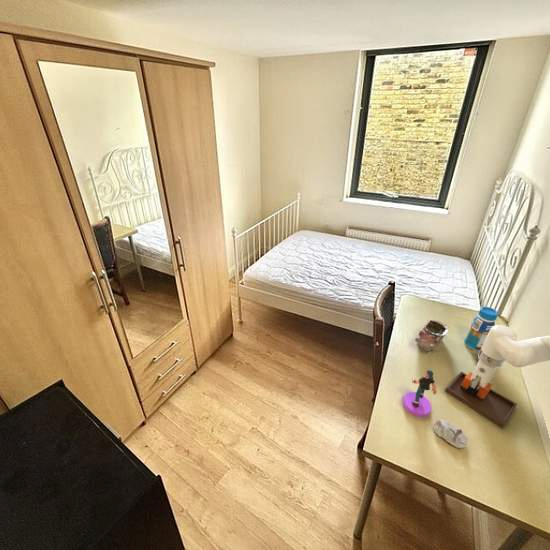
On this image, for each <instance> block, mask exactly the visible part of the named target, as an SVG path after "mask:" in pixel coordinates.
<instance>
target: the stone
mask: <svg viewBox="0 0 550 550" xmlns="http://www.w3.org/2000/svg"><path fill="white" fill-rule="evenodd" d="M433 430H434V432H435V434H437V436H438V437H439V438H442V439H444V440H445V441H446V442H447V443H449V444H450V445H452V446H454V447H455V448H457V449H465V448H466V447H467V446H466V445H467V442H468V438H467V435H466V434H465V433H464V432H463V429H460V428H459V427H457V426H455V425H453V424H451V423H450V422H448V421H446V420H445V419H438V420H437V422H436V423H435V426H434V427H433Z"/></svg>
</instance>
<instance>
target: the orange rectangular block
mask: <svg viewBox="0 0 550 550" xmlns="http://www.w3.org/2000/svg"><path fill="white" fill-rule="evenodd" d="M472 374H473V372H471V371H469V372H468V373H467V376H466V377H465V378H464V380H463V382H462V385H461V388H462V389H464V390H466V391H467V389H468V387H469V385H470V384H471V382H472V381H471V376H472ZM477 387H478V384H477ZM492 387H493V384H491V383H490V382H489V383H488V384H487V385H486V387H484V388H482V387H481V386H480V388H479V391H478V393H477V395H476V397H477V398H478V399H480V400H482V401H483V400H484V398H485V397H486V396H487V394H488V392H489V390H490V389H492Z"/></svg>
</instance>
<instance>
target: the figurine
mask: <svg viewBox="0 0 550 550" xmlns="http://www.w3.org/2000/svg"><path fill="white" fill-rule="evenodd" d="M411 381H412V384H418V387H417V390H416V391H408V392H407V393H405V394H404V396H403V399H402V405H403V407H404V409H405V411H407V413H409V414H411V415H412V416H414V417H416V418H427V417H428V416H429V415H430V413H431V411H432V404H431V403H430V400H429V399H428V398H427V397H426V396H425V391H430V390H431V392H432V394H433V395H434V396H435V395H436V394H437V393H438V389H437V386H436V385H437V384H436V381H435V380H434V371H433V370H432V369H427V370H426V372H425V374H424V376H422V377H421V378H419V379H418V380H417V379H416V378H413V377H412V378H411ZM430 386H432V387H430ZM431 388H432V389H431Z"/></svg>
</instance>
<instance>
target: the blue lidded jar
mask: <svg viewBox="0 0 550 550" xmlns="http://www.w3.org/2000/svg"><path fill="white" fill-rule="evenodd" d="M498 316H499V312H498V311H497V310H496V309H494V308H492V307H490V306H482V307H480V309H479V310H478V313H477V315H476V316H475V317H474V318H473V319H472V320H473V321H472V322H471V323H470V327H469V329H468V332H467V334H466V336H465V337H464V340H463V343H464V345H465V346H466V347H467V348H469V349H471V350H473V351H478V352H480V350H481V348H482V346H483V343H484V341H485V339H486V337H487V335H488V333H489V331H490V329H491V328H492V327H493V326H495V325H496V324H495V321H496V320H497V319H498Z"/></svg>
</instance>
